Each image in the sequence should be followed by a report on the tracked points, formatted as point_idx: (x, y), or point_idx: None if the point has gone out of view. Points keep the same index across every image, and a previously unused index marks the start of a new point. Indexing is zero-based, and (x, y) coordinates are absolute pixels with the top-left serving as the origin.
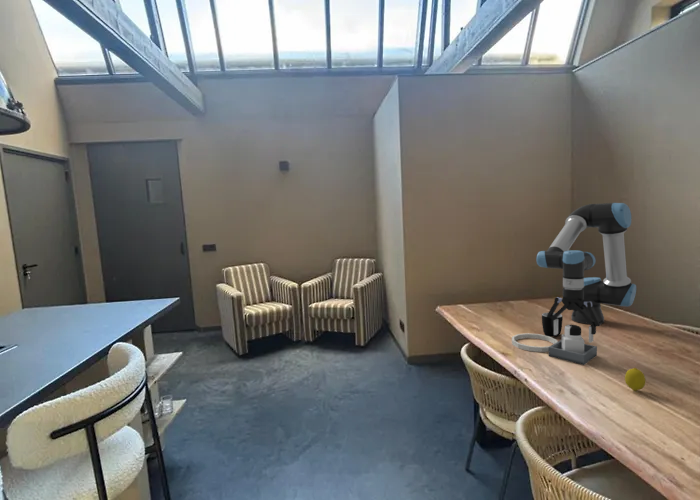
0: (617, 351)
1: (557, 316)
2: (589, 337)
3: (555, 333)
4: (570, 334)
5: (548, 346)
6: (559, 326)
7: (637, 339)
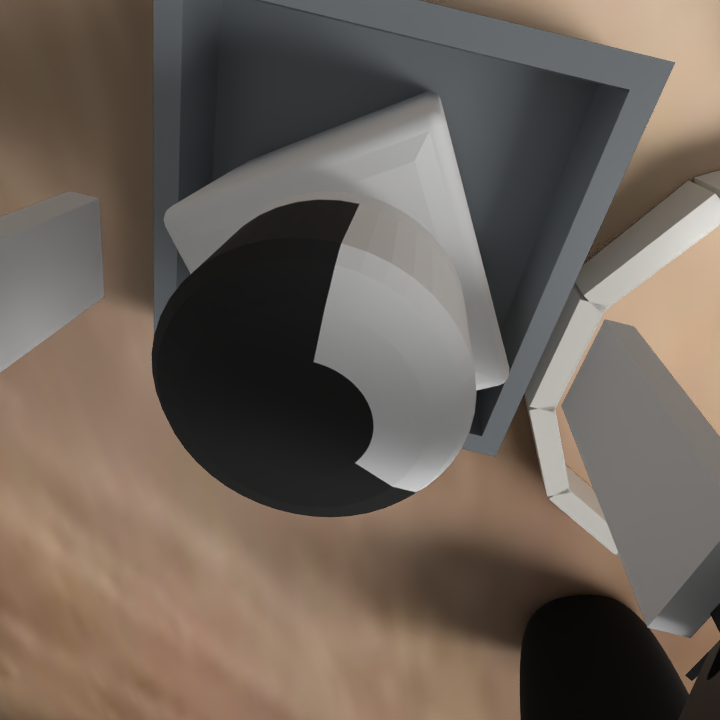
0: (114, 479)
1: (717, 678)
2: (35, 217)
3: (615, 333)
4: (342, 206)
5: (638, 271)
6: (541, 698)
7: (108, 678)
